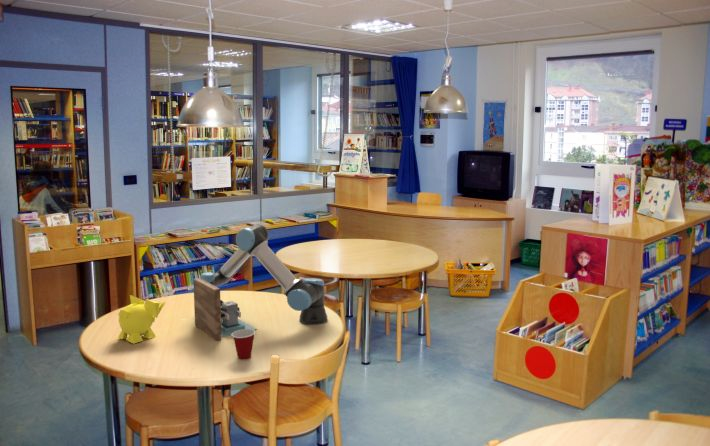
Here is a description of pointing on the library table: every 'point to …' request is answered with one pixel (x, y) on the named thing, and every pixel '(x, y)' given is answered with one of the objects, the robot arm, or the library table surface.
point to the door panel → (207, 308)
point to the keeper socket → (235, 328)
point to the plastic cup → (243, 342)
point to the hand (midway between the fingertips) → (234, 316)
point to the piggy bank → (138, 319)
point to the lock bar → (230, 314)
